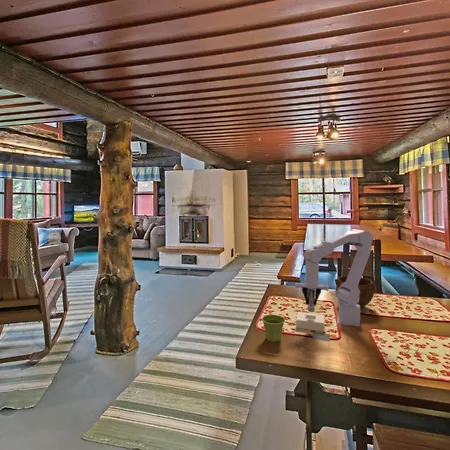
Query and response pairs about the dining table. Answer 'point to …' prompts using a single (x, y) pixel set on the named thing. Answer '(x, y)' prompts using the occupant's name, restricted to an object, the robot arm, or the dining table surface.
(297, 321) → the block
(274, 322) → the plant pot
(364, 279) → the bowl
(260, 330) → the dining table surface
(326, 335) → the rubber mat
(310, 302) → the steel pin
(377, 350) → the dining table surface
